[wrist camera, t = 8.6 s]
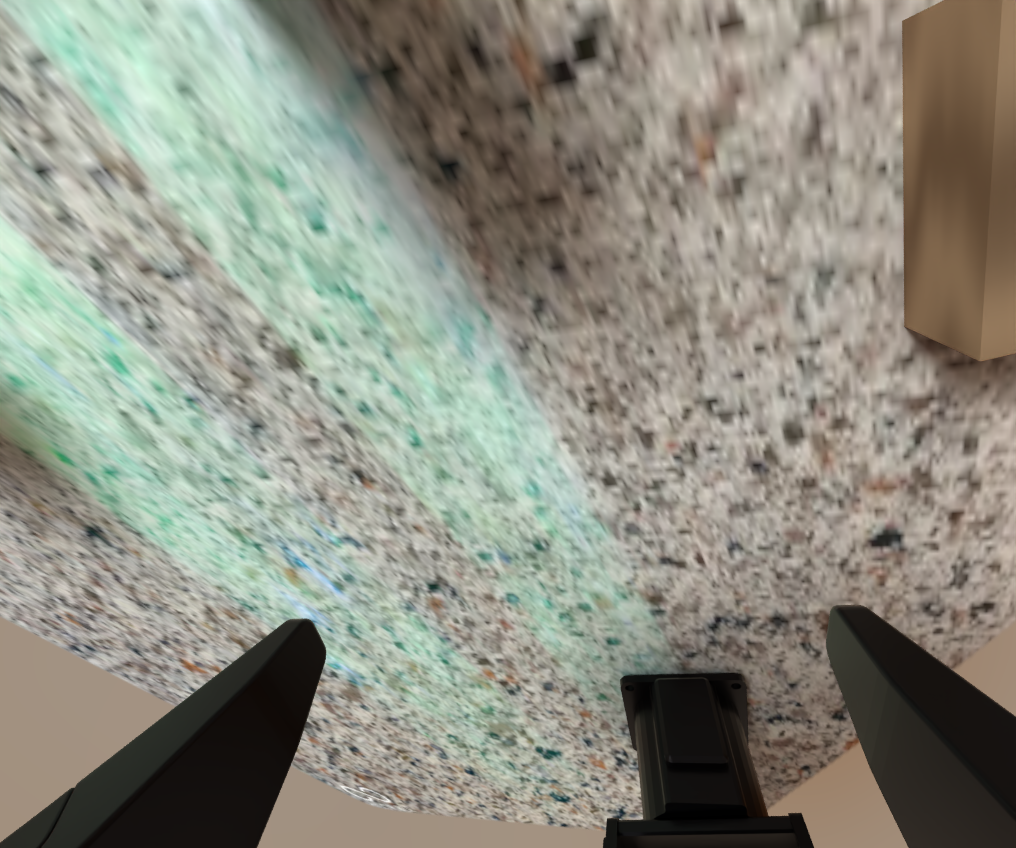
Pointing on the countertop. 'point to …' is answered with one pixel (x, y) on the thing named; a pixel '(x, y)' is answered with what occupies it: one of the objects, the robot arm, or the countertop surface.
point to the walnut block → (961, 175)
